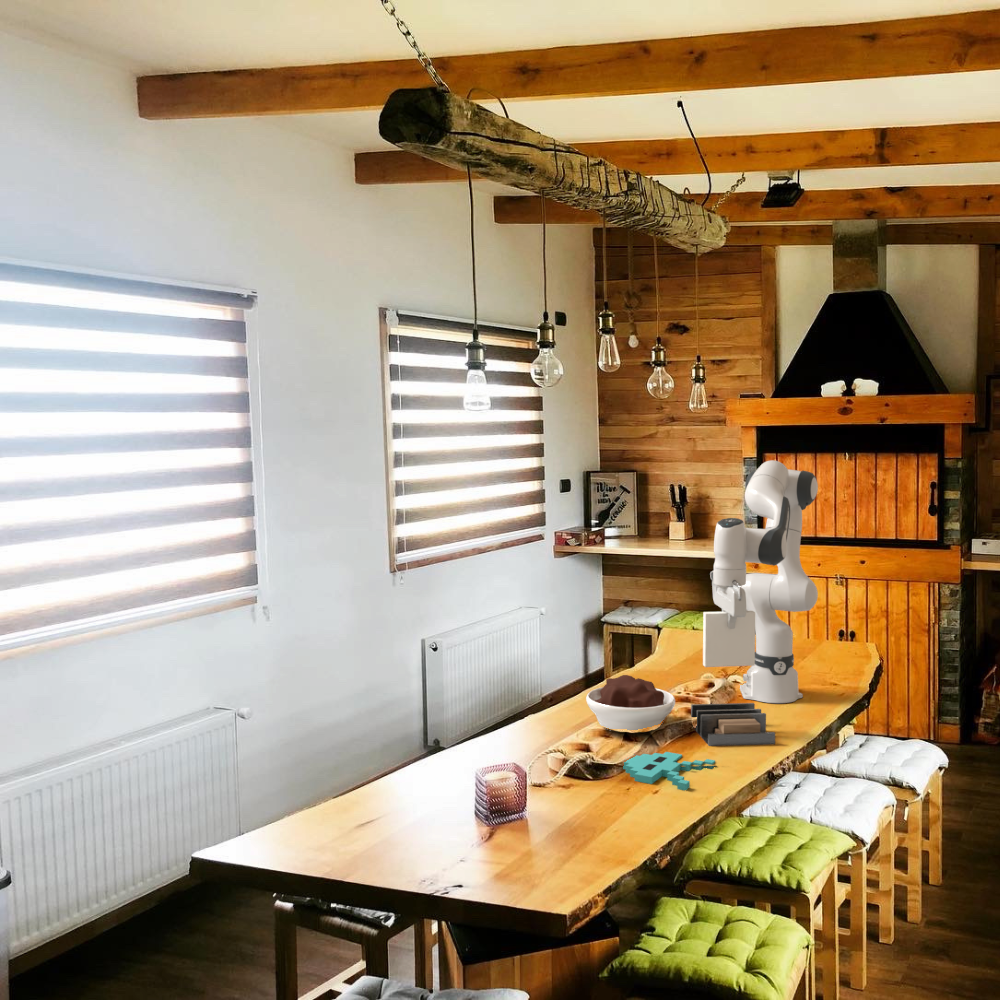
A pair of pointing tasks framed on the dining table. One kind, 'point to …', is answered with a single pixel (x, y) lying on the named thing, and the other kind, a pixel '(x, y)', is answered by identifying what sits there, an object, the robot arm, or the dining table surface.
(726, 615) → the tall sheet
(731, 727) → the offcut upper
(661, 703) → the bowl of chocolate
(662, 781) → the dining table surface
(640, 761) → the alien figure
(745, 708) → the rack
